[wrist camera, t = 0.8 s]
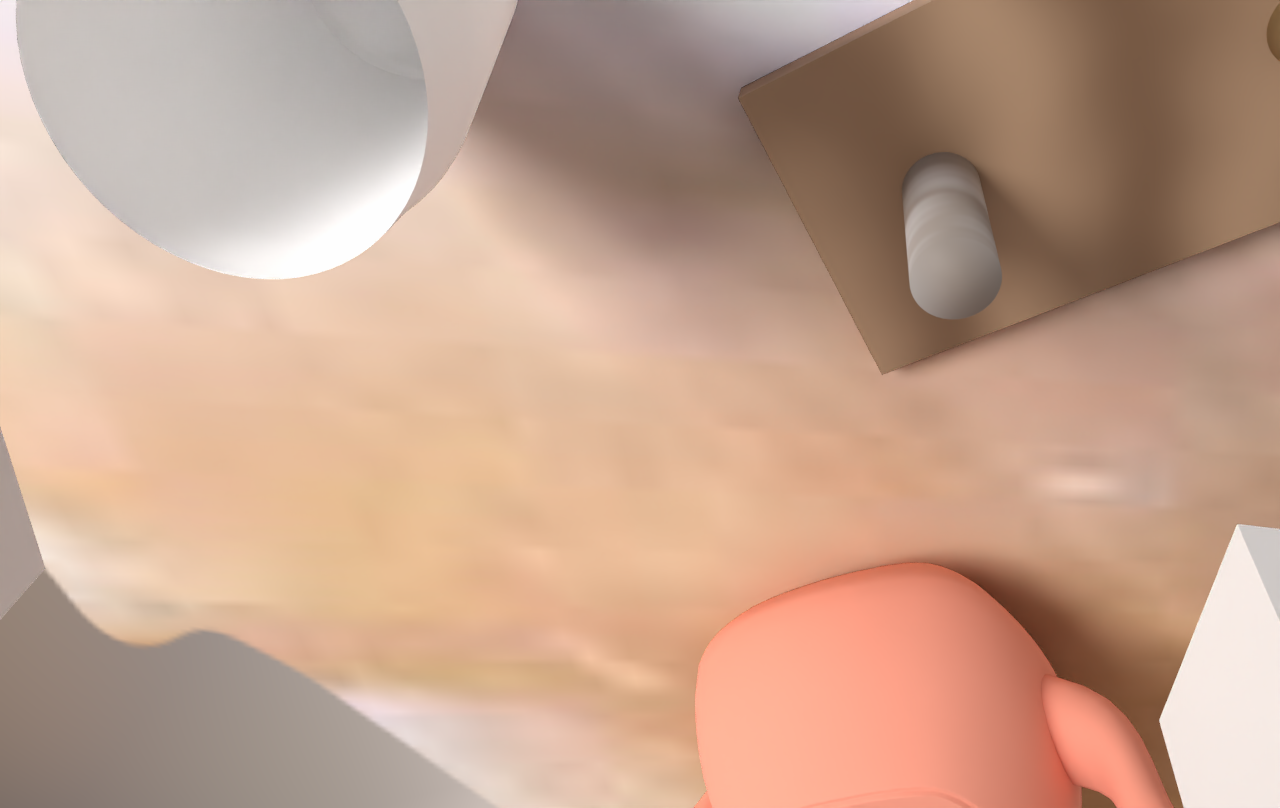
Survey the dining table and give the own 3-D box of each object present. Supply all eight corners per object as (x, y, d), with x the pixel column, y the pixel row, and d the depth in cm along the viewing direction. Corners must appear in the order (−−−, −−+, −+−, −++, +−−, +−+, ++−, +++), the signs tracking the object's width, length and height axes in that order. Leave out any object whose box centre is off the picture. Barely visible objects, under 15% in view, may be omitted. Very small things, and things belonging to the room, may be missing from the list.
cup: (570, -198, 31) (432, -133, 21) (557, 132, 36) (440, 312, 26) (243, -232, 32) (-40, -185, 22) (274, 95, 37) (54, 257, 27)
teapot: (1224, 720, 44) (1334, 1036, 34) (741, 823, 51) (713, 1109, 41) (1118, 445, 39) (1211, 724, 28) (595, 605, 46) (520, 872, 36)
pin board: (881, 359, 38) (885, 484, 32) (741, 87, 34) (717, 174, 28) (1511, 114, 31) (1661, 217, 25) (1427, -261, 27) (1582, -241, 22)
